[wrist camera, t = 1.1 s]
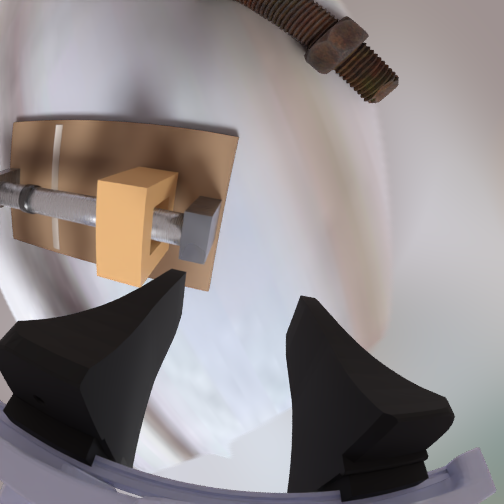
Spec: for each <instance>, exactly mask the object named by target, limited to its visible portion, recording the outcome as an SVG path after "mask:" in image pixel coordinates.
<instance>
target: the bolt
mask: <svg viewBox="0 0 504 504" xmlns="http://www.w3.org/2000/svg"><path fill="white" fill-rule="evenodd" d="M234 1H237V2H240V3H241V4H244V6H247V7H248V8H250V9H252V10H253V11H255V12H256V13H258V14H260V15H261V16H264V18H265V19H266V18H268V21H272V23H273V24H276V26H278V27H279V26H280V29H284V32H288V35H292V38H296V40H297V41H300V43H301V44H305V47H308V51H307V52H306V54H305V55H304V56H305V60H306V62H307V63H309V64H310V65H311V66H312V67H313V68H315V69H316V70H317V71H318V72H319V73H322V74H327V73H329V72H330V71H331V70H336V73H339V77H341V76H343V80H346V82H347V83H350V87H354V91H357V92H358V94H361V98H364V101H368V102H369V103H377V102H380V101H381V100H382V99H383V98H384V97H386V96H387V95H388V94H389V93H390V92H391V91H393V90H394V89H395V88H396V87H397V86H398V78H399V77H398V76H397V75H395V72H392V69H391V68H388V65H385V61H381V58H380V57H377V56H378V54H374V50H370V47H367V46H366V43H363V42H364V41H365V40H366V38H367V37H368V34H367V33H366V31H364V30H363V29H362V28H361V27H360V26H359V25H358V24H357V23H355V22H354V21H353V20H352V19H351V18H349V17H347V16H346V17H344V18H343V19H341V20H340V21H339V22H338V19H334V16H330V12H327V13H326V9H322V6H318V3H314V0H234Z"/></svg>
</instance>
